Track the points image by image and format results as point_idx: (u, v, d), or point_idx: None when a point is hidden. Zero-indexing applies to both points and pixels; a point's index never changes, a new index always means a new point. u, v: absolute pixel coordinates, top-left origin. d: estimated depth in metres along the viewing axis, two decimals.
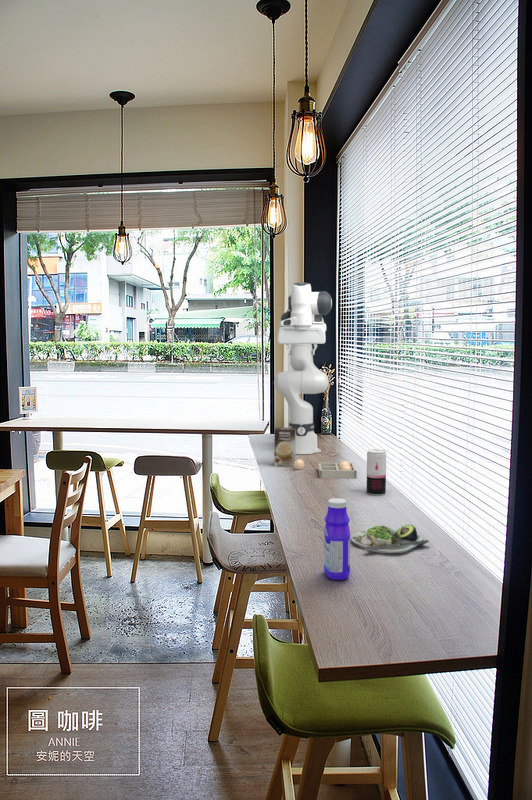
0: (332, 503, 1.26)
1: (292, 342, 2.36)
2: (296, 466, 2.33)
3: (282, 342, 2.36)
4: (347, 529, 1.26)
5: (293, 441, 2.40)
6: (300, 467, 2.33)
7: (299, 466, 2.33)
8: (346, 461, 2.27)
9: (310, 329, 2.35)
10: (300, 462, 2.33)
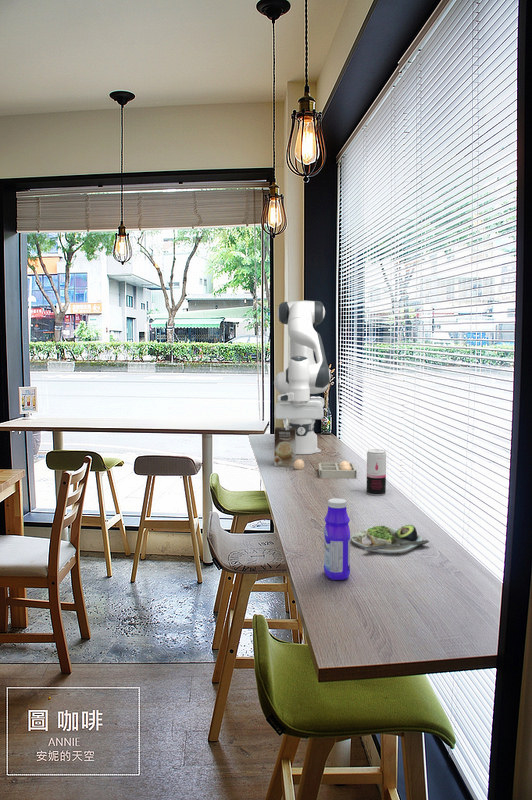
0: (332, 503, 1.26)
1: (289, 417, 2.31)
2: (296, 466, 2.33)
3: (279, 417, 2.31)
4: (347, 529, 1.26)
5: (293, 441, 2.40)
6: (300, 467, 2.33)
7: (299, 466, 2.33)
8: (346, 461, 2.27)
9: (308, 404, 2.30)
10: (300, 462, 2.33)
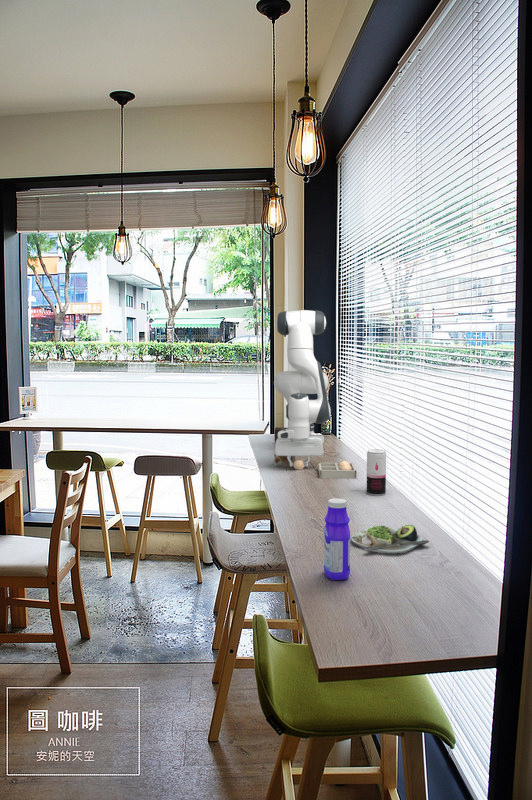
0: (332, 503, 1.26)
1: (289, 454, 2.33)
2: (296, 466, 2.33)
3: (279, 454, 2.33)
4: (347, 529, 1.26)
5: None
6: (300, 467, 2.33)
7: (300, 466, 2.33)
8: (346, 461, 2.27)
9: (308, 441, 2.32)
10: (300, 463, 2.33)
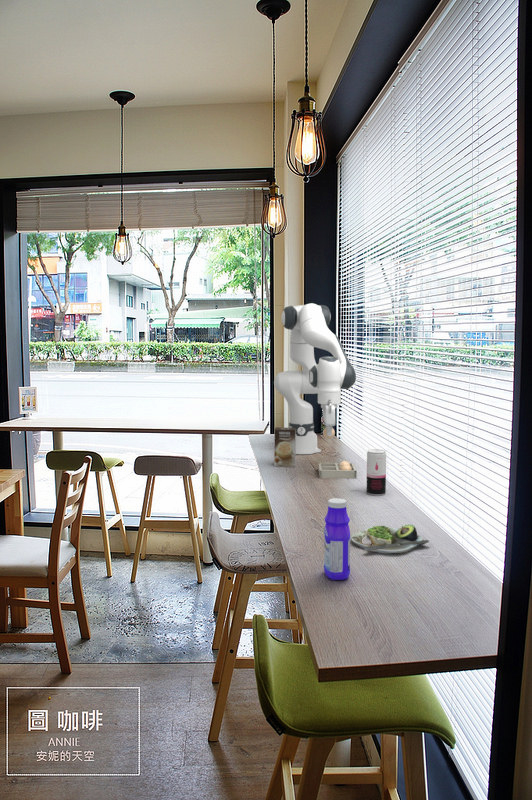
0: (332, 503, 1.26)
1: None
2: None
3: None
4: (347, 529, 1.26)
5: (293, 441, 2.40)
6: (323, 434, 2.20)
7: (323, 433, 2.20)
8: (346, 461, 2.27)
9: (324, 408, 2.16)
10: None
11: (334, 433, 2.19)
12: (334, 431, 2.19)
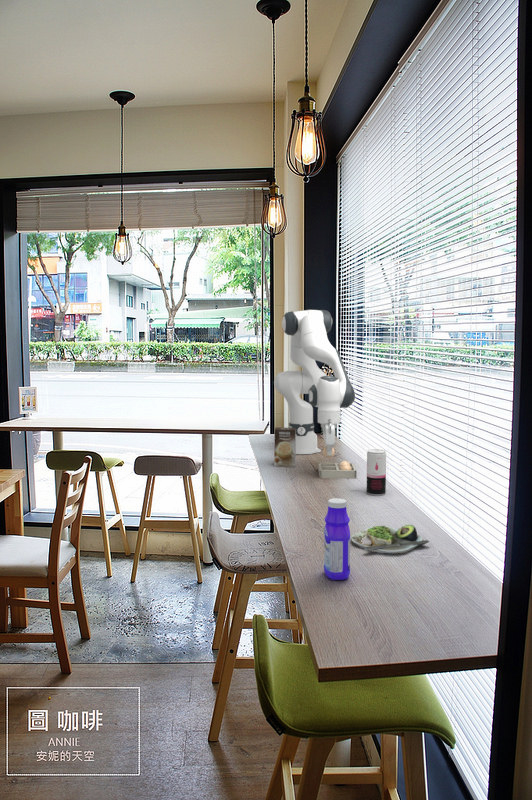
0: (332, 503, 1.26)
1: None
2: None
3: (323, 436, 2.28)
4: (347, 529, 1.26)
5: (293, 441, 2.40)
6: (323, 453, 2.20)
7: (323, 452, 2.21)
8: (346, 461, 2.27)
9: (324, 428, 2.16)
10: (323, 449, 2.20)
11: (334, 452, 2.20)
12: (334, 450, 2.20)
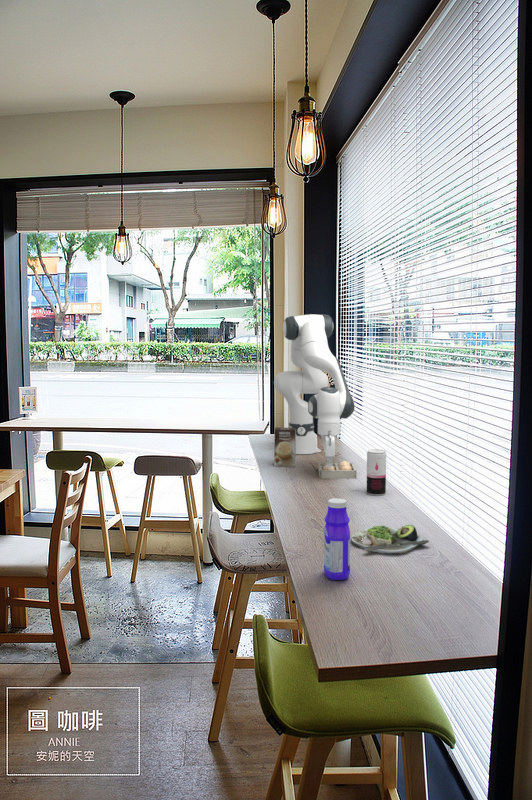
0: (332, 503, 1.26)
1: None
2: None
3: (323, 447, 2.29)
4: (347, 529, 1.26)
5: (293, 441, 2.40)
6: None
7: None
8: (346, 461, 2.27)
9: (324, 439, 2.17)
10: (323, 467, 2.21)
11: None
12: None
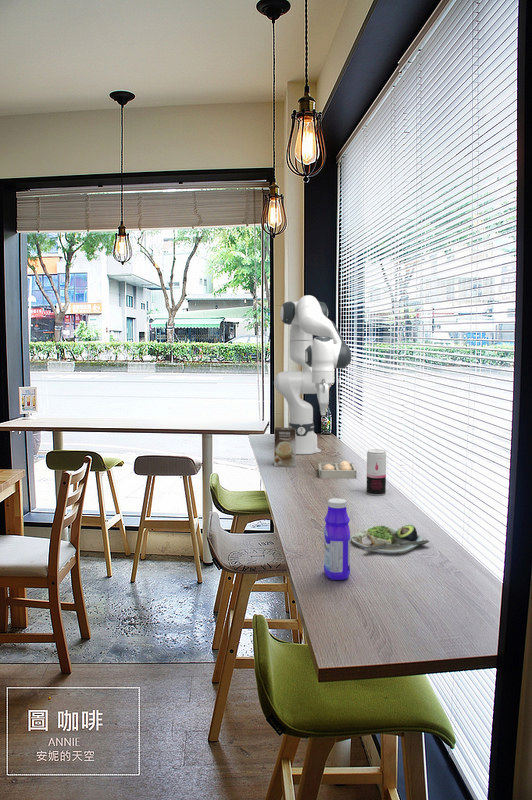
0: (332, 503, 1.26)
1: None
2: None
3: None
4: (347, 529, 1.26)
5: (293, 441, 2.40)
6: None
7: None
8: (346, 461, 2.27)
9: (318, 387, 2.19)
10: None
11: None
12: None
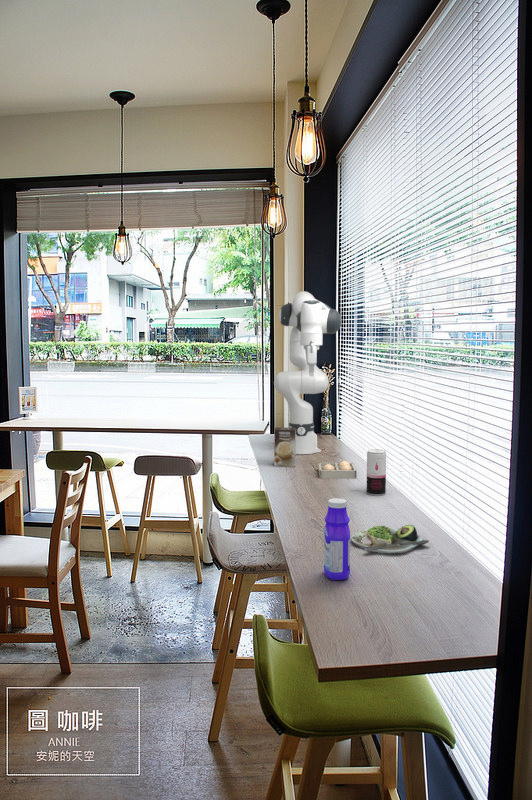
0: (332, 503, 1.26)
1: None
2: None
3: None
4: (347, 529, 1.26)
5: (293, 441, 2.40)
6: None
7: None
8: (346, 461, 2.27)
9: (307, 349, 2.25)
10: (323, 467, 2.21)
11: None
12: None
